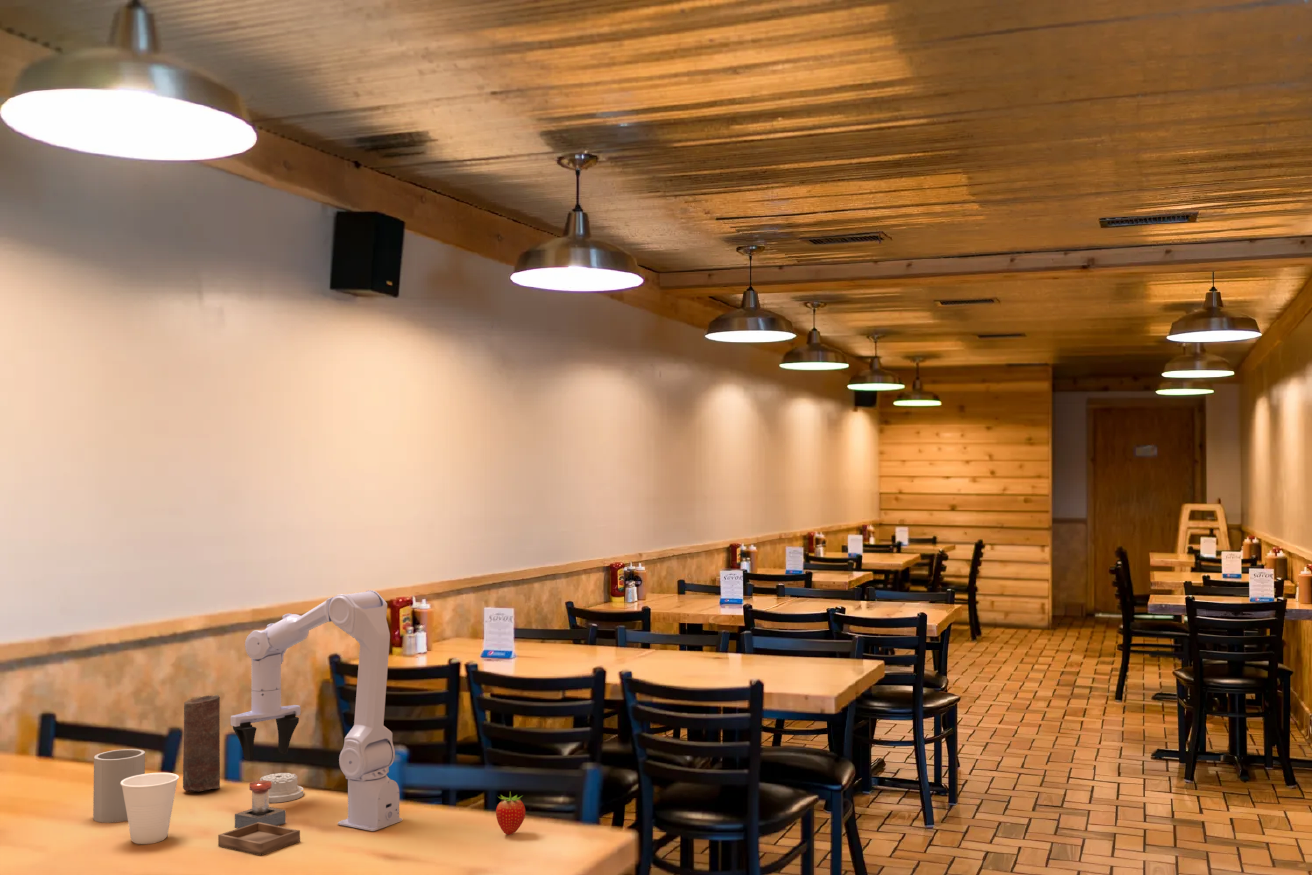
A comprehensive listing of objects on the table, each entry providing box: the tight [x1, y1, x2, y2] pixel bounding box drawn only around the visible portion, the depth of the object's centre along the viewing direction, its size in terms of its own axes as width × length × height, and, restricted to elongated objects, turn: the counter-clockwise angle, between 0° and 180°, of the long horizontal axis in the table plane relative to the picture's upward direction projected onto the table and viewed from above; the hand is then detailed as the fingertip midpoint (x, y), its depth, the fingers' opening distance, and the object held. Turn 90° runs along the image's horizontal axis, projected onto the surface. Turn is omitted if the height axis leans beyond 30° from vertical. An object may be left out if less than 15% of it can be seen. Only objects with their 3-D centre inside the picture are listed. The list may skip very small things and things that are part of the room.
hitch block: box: [234, 806, 287, 829], centre depth 219 cm, size 6×6×2 cm
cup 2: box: [120, 772, 180, 845], centre depth 211 cm, size 10×10×11 cm
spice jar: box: [248, 780, 272, 816], centre depth 219 cm, size 4×4×8 cm
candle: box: [182, 694, 221, 793], centre depth 245 cm, size 8×7×20 cm
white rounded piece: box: [259, 772, 304, 804], centre depth 240 cm, size 10×4×10 cm
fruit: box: [495, 791, 526, 836], centre depth 212 cm, size 5×5×8 cm
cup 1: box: [92, 748, 146, 824], centre depth 227 cm, size 9×9×12 cm
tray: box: [217, 822, 301, 856], centre depth 208 cm, size 11×9×2 cm
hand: (266, 756), depth 233 cm, fingers open, 7 cm apart
